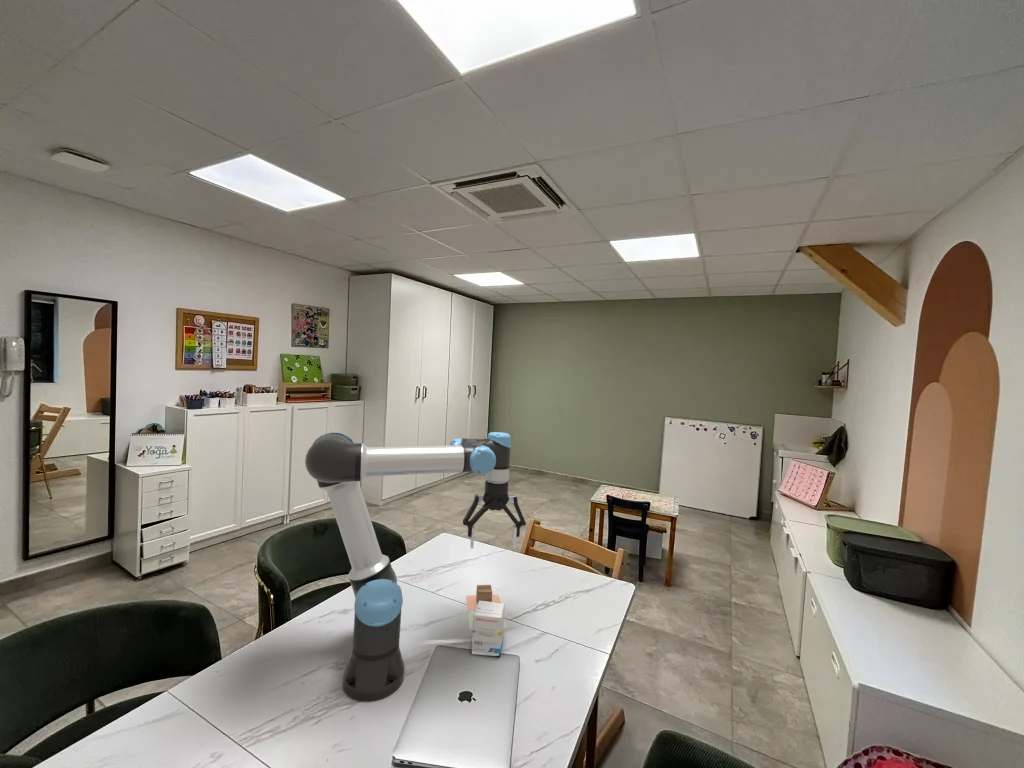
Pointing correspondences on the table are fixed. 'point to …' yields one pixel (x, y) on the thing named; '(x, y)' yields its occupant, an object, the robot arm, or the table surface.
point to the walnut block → (484, 593)
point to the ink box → (488, 626)
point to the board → (472, 606)
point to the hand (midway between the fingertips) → (493, 546)
